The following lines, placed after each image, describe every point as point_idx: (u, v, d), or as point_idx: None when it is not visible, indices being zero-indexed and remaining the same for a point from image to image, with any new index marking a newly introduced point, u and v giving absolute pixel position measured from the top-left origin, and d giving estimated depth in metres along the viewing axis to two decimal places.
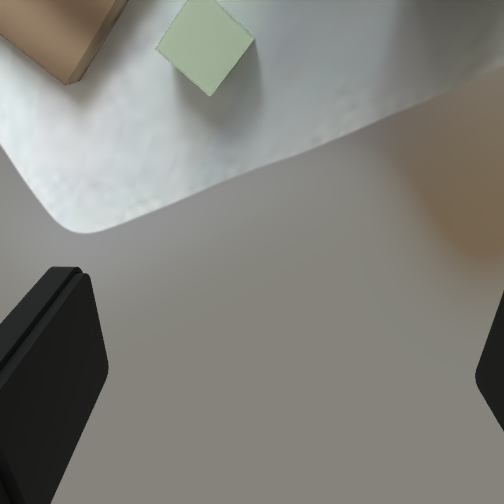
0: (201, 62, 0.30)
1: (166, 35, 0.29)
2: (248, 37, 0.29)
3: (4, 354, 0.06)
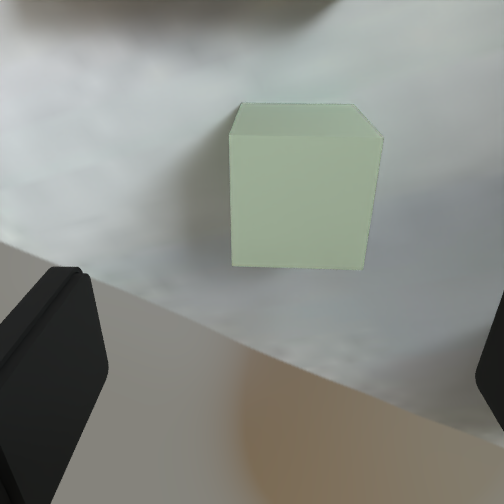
0: (270, 221, 0.15)
1: (267, 139, 0.14)
2: (361, 261, 0.16)
3: (4, 354, 0.06)
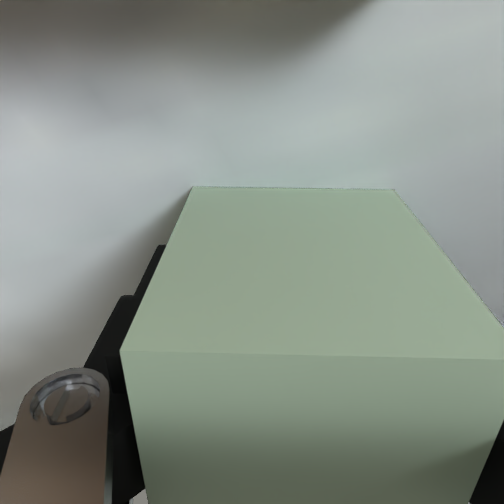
0: (238, 501, 0.07)
1: (220, 361, 0.05)
2: None
3: None
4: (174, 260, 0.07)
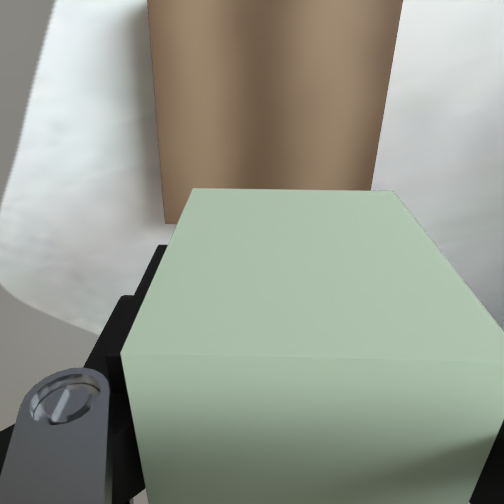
0: (238, 503, 0.07)
1: (220, 363, 0.05)
2: None
3: None
4: (174, 262, 0.07)
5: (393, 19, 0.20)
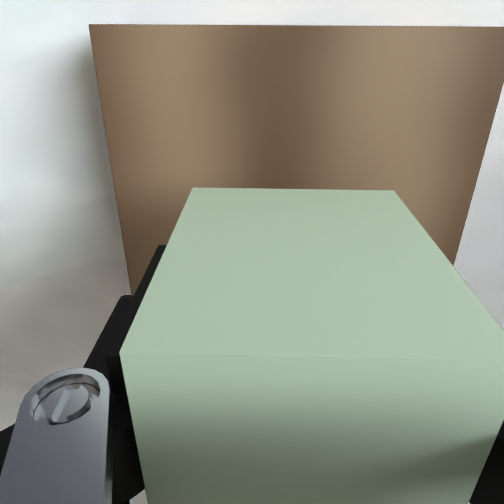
0: (238, 502, 0.07)
1: (219, 361, 0.05)
2: None
3: None
4: (174, 261, 0.07)
5: (498, 62, 0.12)
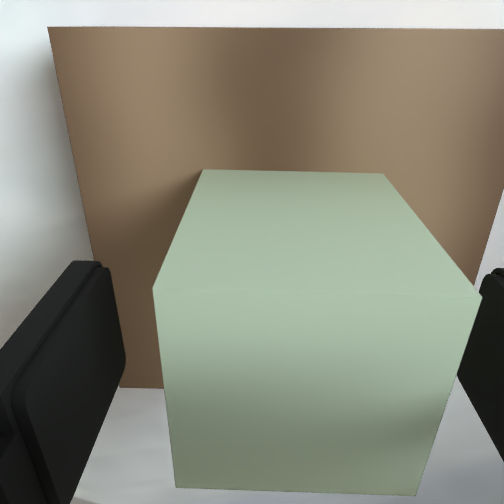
0: (246, 428, 0.08)
1: (234, 297, 0.06)
2: (414, 483, 0.09)
3: (35, 343, 0.07)
4: (191, 225, 0.08)
5: None
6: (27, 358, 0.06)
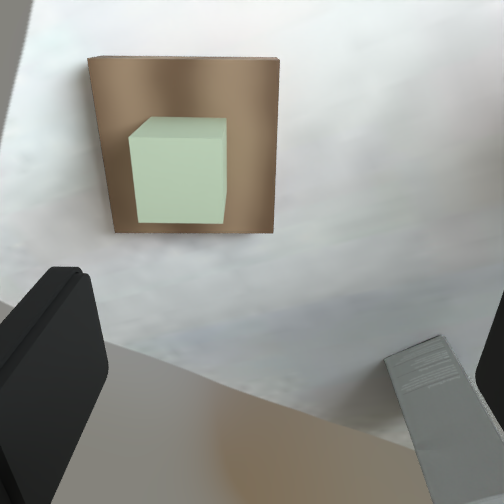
0: (160, 192, 0.24)
1: (152, 140, 0.22)
2: (221, 217, 0.25)
3: (4, 354, 0.06)
4: (142, 128, 0.24)
5: (274, 75, 0.27)
6: None
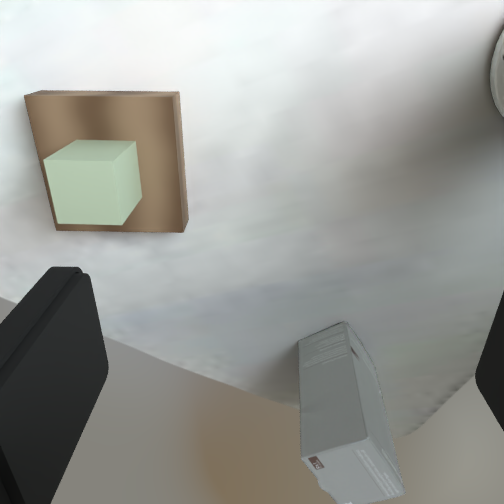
0: (71, 200, 0.31)
1: (61, 162, 0.30)
2: (120, 220, 0.32)
3: (4, 354, 0.06)
4: (60, 151, 0.32)
5: (169, 108, 0.34)
6: None
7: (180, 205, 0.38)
